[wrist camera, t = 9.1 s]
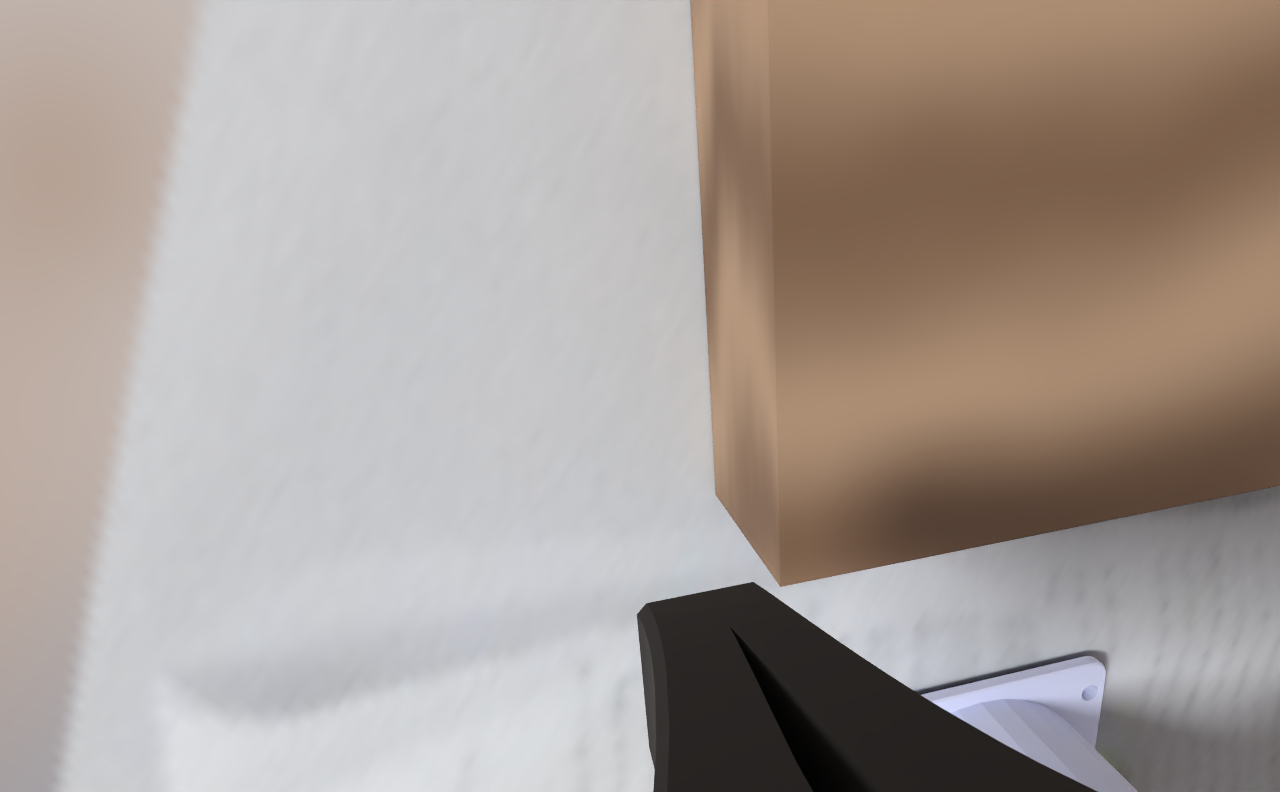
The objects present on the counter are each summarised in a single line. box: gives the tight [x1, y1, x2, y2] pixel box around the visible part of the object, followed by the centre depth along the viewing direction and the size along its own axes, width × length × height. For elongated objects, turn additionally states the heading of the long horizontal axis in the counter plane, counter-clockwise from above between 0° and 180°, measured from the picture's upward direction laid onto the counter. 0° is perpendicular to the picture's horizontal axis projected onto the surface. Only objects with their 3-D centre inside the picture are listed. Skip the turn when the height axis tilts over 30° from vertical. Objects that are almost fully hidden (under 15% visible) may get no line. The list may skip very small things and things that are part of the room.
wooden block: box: [690, 0, 1280, 587], centre depth 16 cm, size 14×12×4 cm
